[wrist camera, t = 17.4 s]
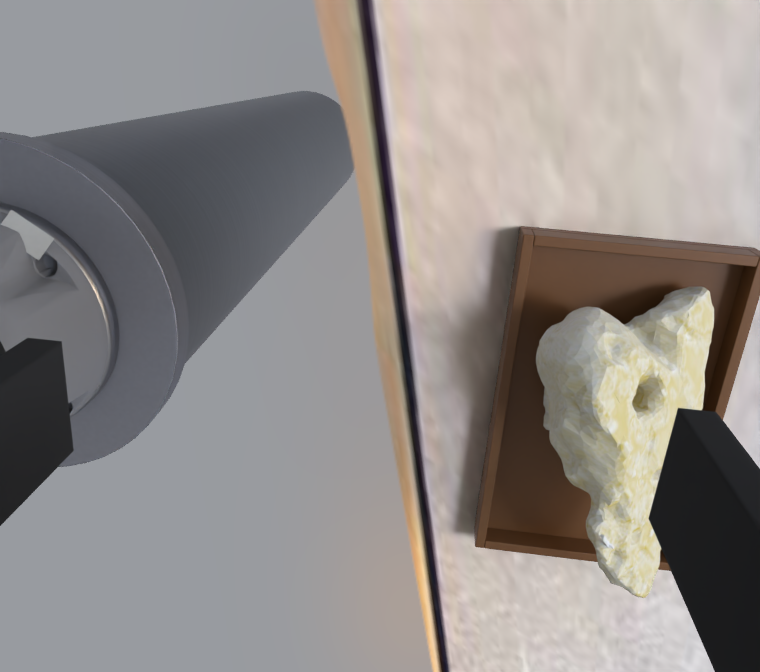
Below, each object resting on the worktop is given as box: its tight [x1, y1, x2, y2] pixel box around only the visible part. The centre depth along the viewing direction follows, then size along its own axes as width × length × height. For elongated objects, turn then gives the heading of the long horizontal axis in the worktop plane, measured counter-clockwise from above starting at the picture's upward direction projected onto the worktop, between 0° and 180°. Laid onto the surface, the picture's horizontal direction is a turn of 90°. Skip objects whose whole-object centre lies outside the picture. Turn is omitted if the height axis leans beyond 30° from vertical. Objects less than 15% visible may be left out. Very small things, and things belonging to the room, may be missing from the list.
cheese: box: [536, 287, 714, 598], centre depth 39 cm, size 15×7×15 cm
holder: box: [474, 226, 760, 571], centre depth 42 cm, size 13×21×2 cm, turn 176°
